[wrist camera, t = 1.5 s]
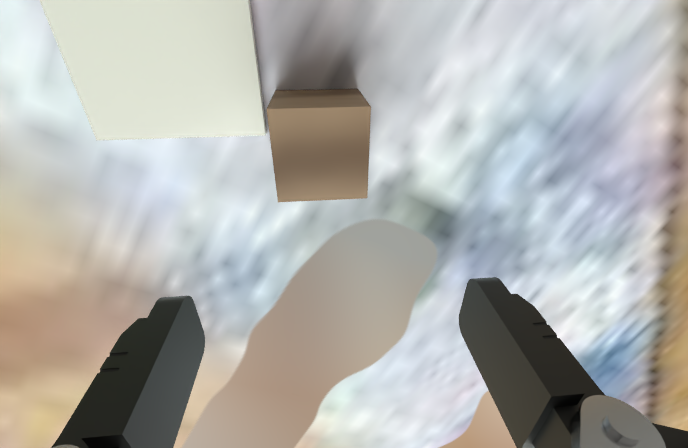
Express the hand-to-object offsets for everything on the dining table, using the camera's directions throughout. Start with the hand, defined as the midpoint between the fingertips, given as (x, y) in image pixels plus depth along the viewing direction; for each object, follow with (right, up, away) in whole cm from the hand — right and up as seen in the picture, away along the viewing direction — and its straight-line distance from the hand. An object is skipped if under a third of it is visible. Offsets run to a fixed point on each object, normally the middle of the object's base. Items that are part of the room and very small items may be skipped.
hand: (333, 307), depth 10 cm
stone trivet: (-12, +14, +12) cm, 22 cm away
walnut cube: (-2, +10, +16) cm, 19 cm away
